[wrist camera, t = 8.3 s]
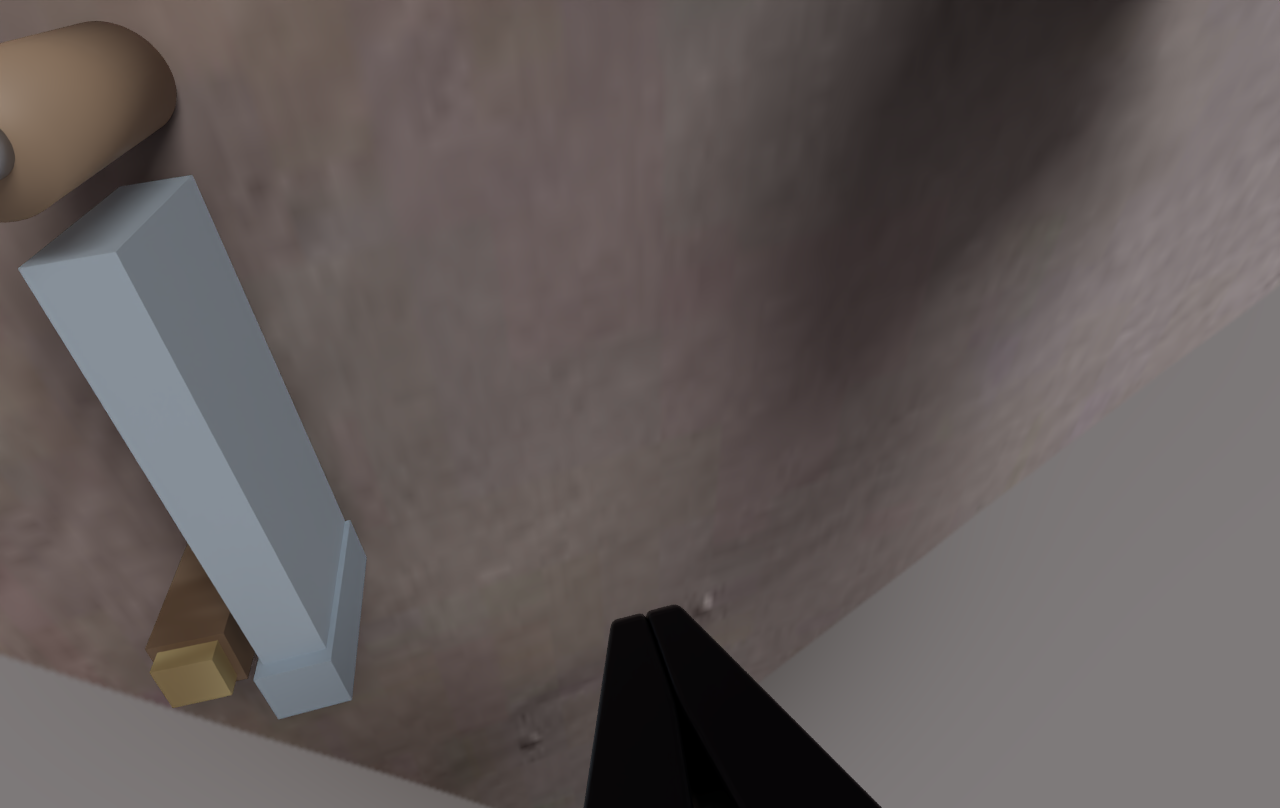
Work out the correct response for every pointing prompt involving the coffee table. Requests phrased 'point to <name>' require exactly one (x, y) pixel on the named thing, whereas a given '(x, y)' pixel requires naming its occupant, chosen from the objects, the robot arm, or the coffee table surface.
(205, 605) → the brown rectangular block
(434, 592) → the coffee table surface
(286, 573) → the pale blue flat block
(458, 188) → the coffee table surface
